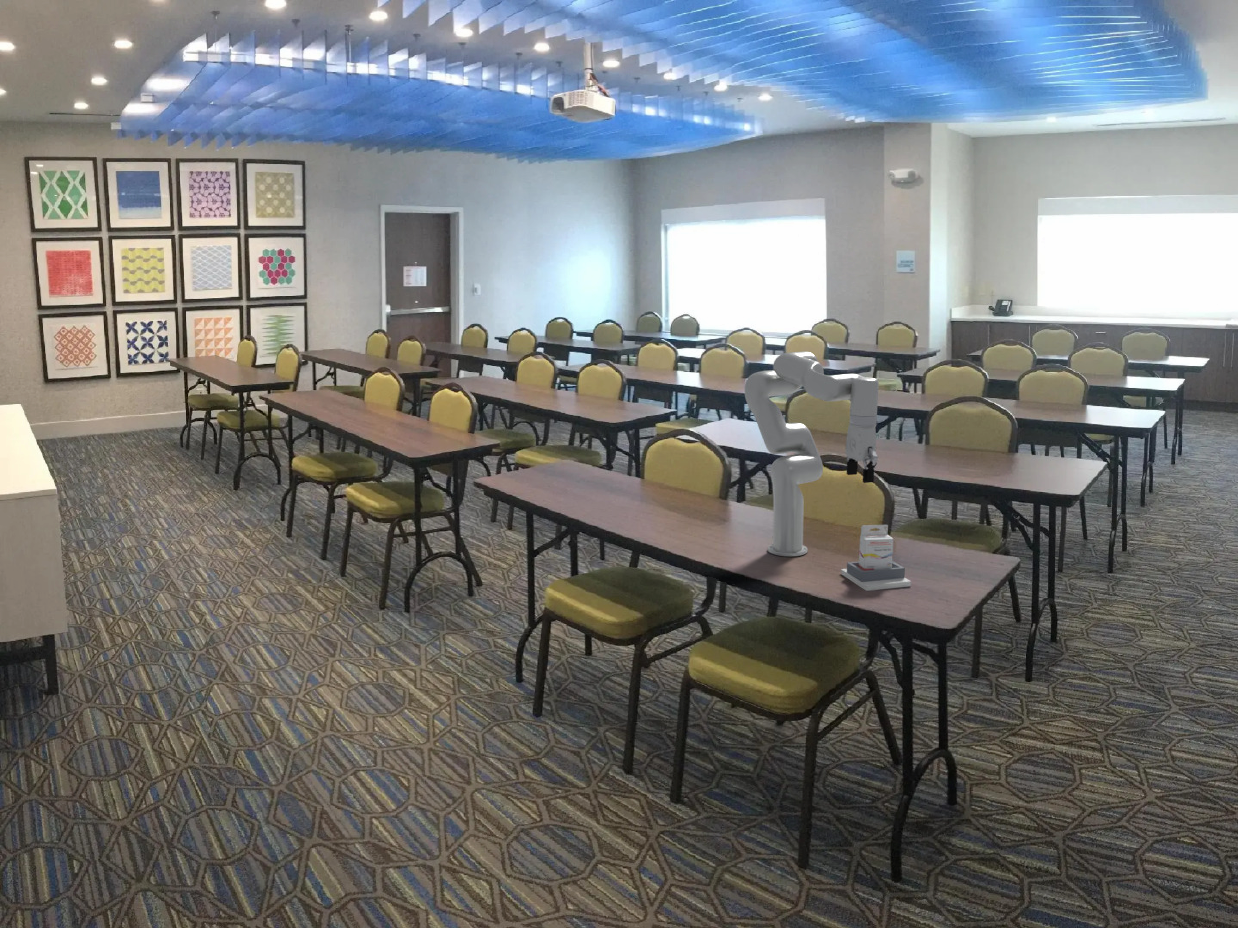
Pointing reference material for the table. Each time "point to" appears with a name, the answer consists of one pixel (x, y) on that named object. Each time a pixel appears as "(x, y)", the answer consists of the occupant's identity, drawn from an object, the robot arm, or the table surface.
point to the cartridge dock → (876, 577)
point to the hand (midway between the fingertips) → (859, 478)
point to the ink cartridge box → (875, 548)
